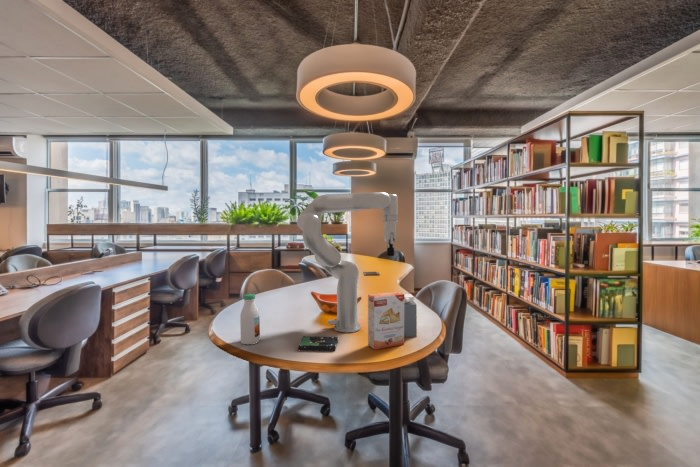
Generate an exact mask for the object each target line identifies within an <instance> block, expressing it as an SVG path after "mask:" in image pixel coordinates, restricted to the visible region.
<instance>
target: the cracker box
mask: <svg viewBox="0 0 700 467" xmlns="http://www.w3.org/2000/svg"><path fill="white" fill-rule="evenodd" d="M404 294H405V293H402V292H399V291H388V292H380V293H371V294H368V296H367V345H368V346H369V347H370V348H371V349H372V350H381V349H387V348H391V347H396V346H402V345H404V344H405V337H404Z"/></svg>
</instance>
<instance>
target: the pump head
mask: <svg viewBox="0 0 700 467" xmlns="http://www.w3.org/2000/svg"><path fill="white" fill-rule="evenodd" d="M403 294H404V303H408V302H410V301H414V302H415V298H414V296H413V295H412V294H411V293H406V294H405V293H403Z"/></svg>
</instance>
